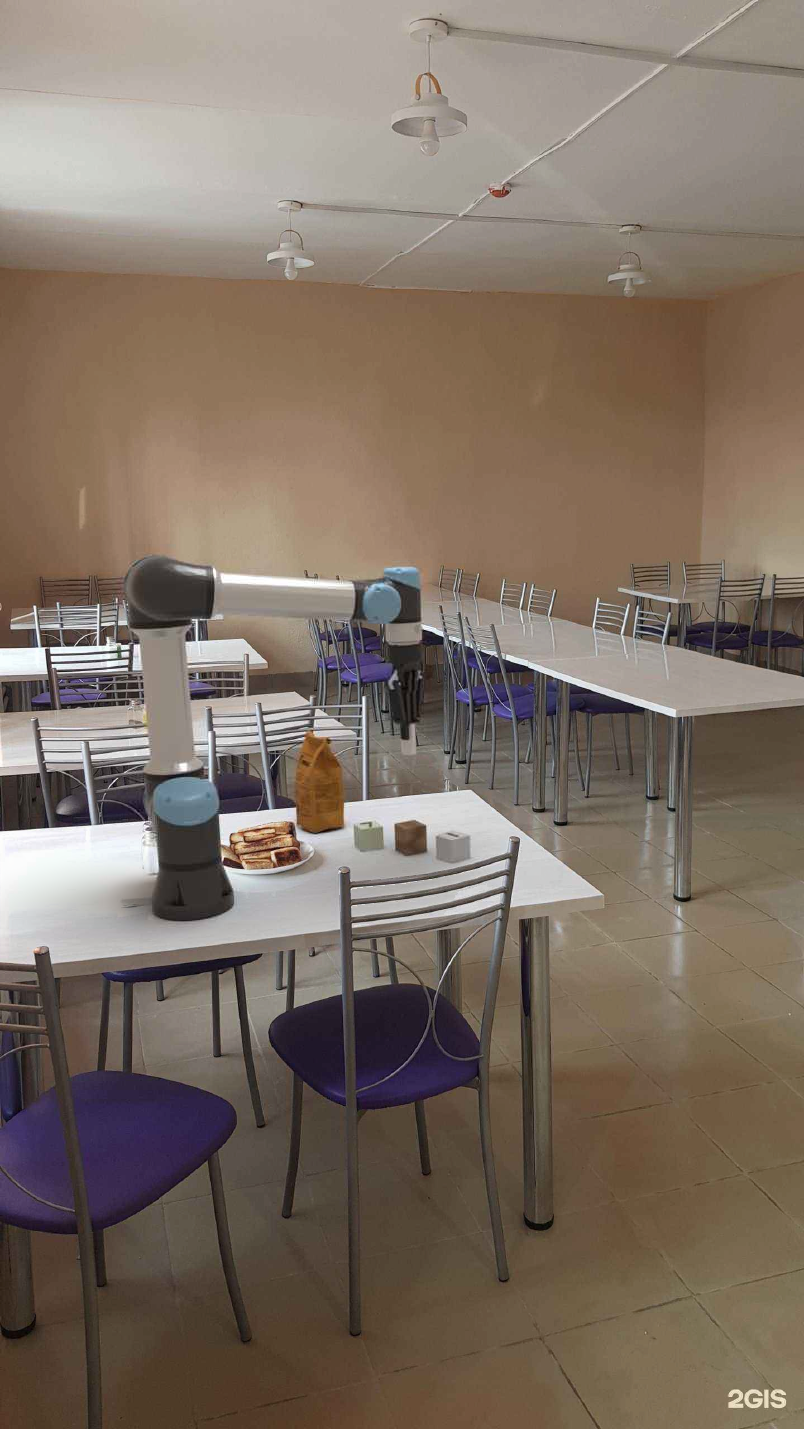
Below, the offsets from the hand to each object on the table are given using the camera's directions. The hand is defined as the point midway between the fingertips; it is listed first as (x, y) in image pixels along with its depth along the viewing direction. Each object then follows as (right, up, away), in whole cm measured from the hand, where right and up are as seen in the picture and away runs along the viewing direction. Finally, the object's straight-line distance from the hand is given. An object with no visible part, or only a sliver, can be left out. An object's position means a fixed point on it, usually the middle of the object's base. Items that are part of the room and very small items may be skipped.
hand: (408, 753), depth 223 cm
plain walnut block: (+1, -21, +4) cm, 21 cm away
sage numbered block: (-9, -21, +8) cm, 24 cm away
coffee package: (-21, -18, +25) cm, 37 cm away
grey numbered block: (+9, -22, -2) cm, 24 cm away
